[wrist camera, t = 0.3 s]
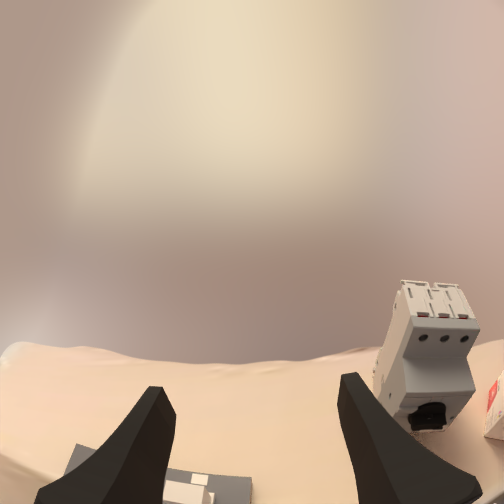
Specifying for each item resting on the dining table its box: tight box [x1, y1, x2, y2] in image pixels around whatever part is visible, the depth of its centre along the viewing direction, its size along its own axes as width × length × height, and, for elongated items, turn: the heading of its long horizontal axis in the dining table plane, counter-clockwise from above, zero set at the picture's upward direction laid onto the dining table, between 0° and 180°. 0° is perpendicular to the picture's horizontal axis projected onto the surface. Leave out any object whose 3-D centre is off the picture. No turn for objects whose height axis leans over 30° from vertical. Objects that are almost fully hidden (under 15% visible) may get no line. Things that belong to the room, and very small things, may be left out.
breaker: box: [163, 480, 215, 504], centre depth 18 cm, size 3×4×5 cm
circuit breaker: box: [373, 280, 480, 433], centre depth 26 cm, size 8×14×15 cm, turn 165°
